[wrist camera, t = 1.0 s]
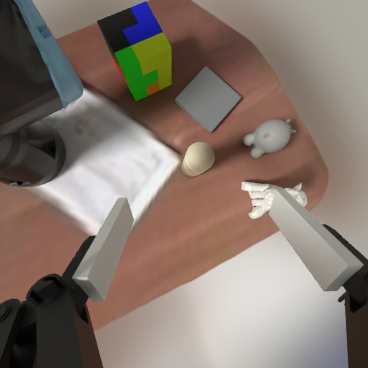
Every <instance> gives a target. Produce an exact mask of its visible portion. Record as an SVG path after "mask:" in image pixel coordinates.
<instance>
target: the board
mask: <svg viewBox="0 0 368 368" xmlns="http://www.w3.org/2000/svg"><path fill="white" fill-rule="evenodd" d="M240 99H241V97H240V96H239V95H238V94H237V93H236V92H235V91H234V90H233V89H231V88H230V87H229V86H228V85H227V84H226V83H225V82H224V81H222V80H221V79H220V78H219V77H218V76H217V75H216V74H215V73H214V72H212V71H211V70H210V69H209V68H208V67H207V66H205V67H204V68H203V69H202V70H201V71H200V72H199V74H198V75H197V76H196V77H195V78H194V79H193V80H192V81H191V82H190V83H189V84H188V85H187V87H186V88H185V89H184V90H183V91H182V92H181V93H180V94H179V95H178V96H177V97H176V98H175V103H176V104H177V105H179V106H180V107H181V108H182V109H183V110H184V111H185V112H187V113H188V114H189V115H190V116H191V117H192V118H193V119H195V120H196V121H197V122H198V123H199V124H200V125H201V126H203V127H204V128H205V129H206V130H207V131H208V132H209V133H211V132H212V131H213V130H214V129H215V128H216V127H217V125H218V124H219V123H220V122H221V121H222V120H223V118H224V117H225V116H226V115H227V114H228V113H229V112H230V110H231V109H232V108H233V107H234V106H235V105H236V103H237V102H238V101H239V100H240Z"/></svg>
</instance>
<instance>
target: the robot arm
mask: <svg viewBox="0 0 368 368" xmlns="http://www.w3.org/2000/svg"><path fill="white" fill-rule="evenodd" d="M82 94H83V85H82V83H81V81H80V79H79V77H78V76H77V74H76V72H75V71H74V69H73V67H72V66H71V64H70V62H69V61H68V59H67V57H66V56H65V54H64V53H63V51H62V49H61V48H60V46H59V44H58V43H57V41H56V39H55V38H54V36H53V34H52V33H51V31H50V29H49V28H48V26H47V24H46V23H45V21H44V19H43V18H42V17H41V15H40V13H39V11H38V10H37V8H36V6H35V5H34V3H33V1H32V0H0V182H1V183H4V184H7V185H11V186H19V187H33V186H39V185H42V184H44V183H46V182H48V181H50V180H51V179H53V178H54V177H55V176H56V175H57V174H58V173H59V171H60V170H61V168H62V166H63V163H64V160H65V146H64V143H63V141H62V139H61V137H60V136H59V134H58V133H57V132H56V131H55V130H54V129H52V128H51V127H49V126H48V125H46V124H44V123H42V122H40V121H39V120H41V119H43V118H45V117H47V116H49V115H51V114H53V113H55V112H57V111H59V110H61V109H62V108H64V109H65V108H66V107H67V105H68V104H70V103H72V102H73V101H75V100H77V99H78V98H80V97H81V96H82ZM269 215H270V216H271V218H272V219H273V221H274V222H275V223H276V225H277V226H278V228H279V229H280V230H281V232H282V233H283V235H284V236H285V237H286V239H287V240H288V242H289V243H290V244H291V246H292V247H293V249H294V250H295V251H296V253H297V254H298V256H299V257H300V258H301V260H302V261H303V263H304V264H305V266H306V267H307V268H308V270H309V271H310V273H311V274H312V275H313V277H314V278H315V280H316V281H317V282H318V284H319V285H320V286H321V288H322V289H323V291H337V290H338V289H339V288H340V287H341V286H343V287H344V288H345V290H346V292H345V293H344V294H343V295H342V296H341V297H339V299H338V301H339V302H342V301H343V300H344V299H345V304H344V305H345V314H346V332H347V349H348V367H349V368H368V260H367V259H366V258H365V257H364V256H363V255H362V254H361V253H360V252H359V251H358V250H356V249H355V248H354V247H353V246H352V245H351V244H349V243H348V241H346V240H345V239H344V238H342V236H341V235H340V234H339V233H338V232H337V231H335V230H334V229H332V228H331V227H329V226H328V225H325V224H321V223H320V222H319V221H318V220H317V219H315V218H314V217H313V216H312V215H311V214H310V213H309V212H308V211H307V210H306V209H305V208H304V207H303V206H302V205H301V204H300V203H299V202H298V201H297V200H296V199H295V198H293V197H292V196H291V195H290V194H289V193H288V192H287V191H286V190H276V193H275V196H274V199H273V202H272V205H271V208H270V211H269ZM133 221H134V219H133V216H132V213H131V209H130V206H129V203H128V200H127V198H118V199H117V201H116V203H115V205H114V206H113V208H112V210H111V211H110V213H109V215H108V217H107V218H106V220H105V222H104V223H103V225H102V227H101V229H100V230H99V232H98V234H97V236H90V237H88V238H87V239H86V240H85V241H84V242H83V244H82V245H81V247H80V248H79V251H77V253H76V255H75V257H74V258H73V259H72V261H71V262H70V264H69V265H68V267H67V269H66V270H65V272H64V273H63V275H62V276H61V277H60V276H59V275H58V274H49V275H47V276H45V277H43V278H41V279H40V280H38V281H37V282H36V283H35V284H34V285H33V286H32V287H31V288H30V290H29V291H28V293H27V297H26V299H27V300H26V301H23V302H21V301H19V300H18V299H10V300H7V301H5V302H3V303H1V304H0V368H103V365H102V361H101V358H100V354H99V350H98V346H97V342H96V338H95V335H94V331H93V327H92V323H91V319H90V316H89V312H88V308H87V305H86V302H87V300H88V297H89V298H90V299H91V300H92V301H105V299H106V296H107V293H108V290H109V288H110V285H111V282H112V279H113V277H114V274H115V271H116V268H117V266H118V263H119V260H120V257H121V254H122V252H123V249H124V246H125V243H126V241H127V238H128V235H129V232H130V230H131V227H132V224H133Z"/></svg>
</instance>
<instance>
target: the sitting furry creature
mask: <svg viewBox="0 0 368 368" xmlns="http://www.w3.org/2000/svg"><path fill="white" fill-rule="evenodd" d="M241 185H242V186H241V188H242V190H244V191H248V192H249V195H250V198H252V199H253V200H252V201H251V202H252V205H253V209H252V211H251V212H250V213H249V214H248V215H249V216H250V217H251V218H252V219H255V218H257V217H258V218H259V217H260V216H262V215H263V214H264V213H265V212H266V211H268V210H270V208H271V205H272V202H273V199H274V196H275V193H276V190H286V191H287V192H288V193H289V194H290V195H291V196H292V197H293V198H295V199H296V200H297V201H298V202H299V203H300V204H301V205H302V206H303V207H304V206H306V204H307V200H306V199H307V197H306V194H305V193H304V192H303V191H301V187H302V183H300V184H299V185H297V186H295V187H294V188H293V189H292V188H285V189H284V188H281V187H278V186H276V185H272V184H260V183H254V182H242V184H241ZM253 191H254V192H253ZM255 198H260V199H255ZM254 206H257V207H255V208H254Z"/></svg>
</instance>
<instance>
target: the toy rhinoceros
mask: <svg viewBox="0 0 368 368" xmlns="http://www.w3.org/2000/svg"><path fill="white" fill-rule="evenodd" d="M290 120H291V119H288V120H286V121H282V120H278V119H272V120H268V121H265V122H263V123H262V124H261V125H260V126H259V127H258V128H257V129H256V131H255V132H253V133H252V134H248V135H246V136H245V137H244V139H243V141H244V143H245V145H247V146H250V145H252V144H253V146H254V148H253V149H252V150H251V156H252V157H254V158H258V157H260V156H261V155H262V154H263V153H265V152H267V153H271V152H276V151H278V150H280V149H282V148H283V147H284V146H285V145H286V144H287V143H288V141H289V139H290V134H292V133H295V132H296V130H293V129H291V126H290V125H289V122H290ZM255 146H256V147H255Z"/></svg>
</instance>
